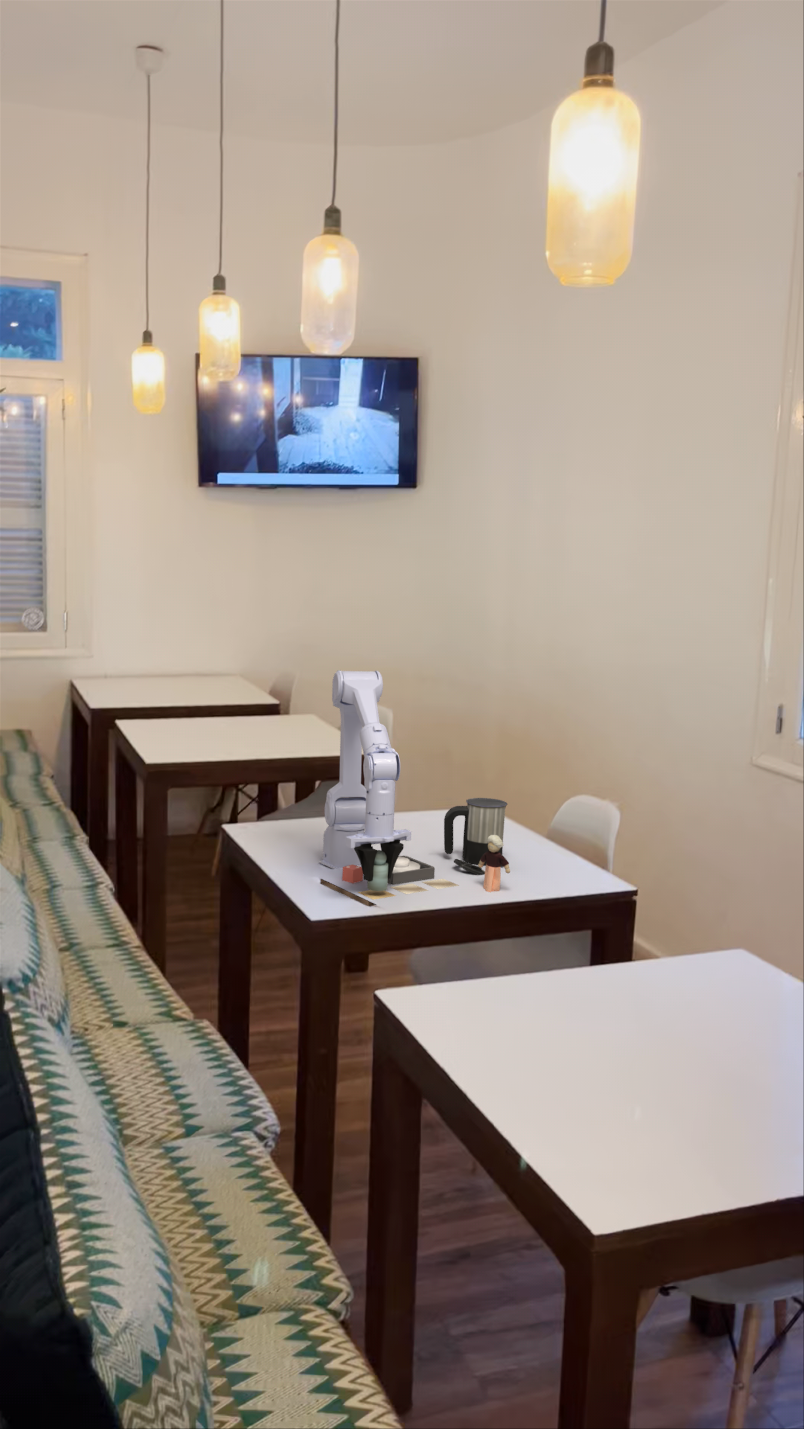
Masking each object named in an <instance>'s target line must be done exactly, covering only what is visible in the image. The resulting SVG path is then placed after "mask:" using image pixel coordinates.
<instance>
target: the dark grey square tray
mask: <svg viewBox="0 0 804 1429" xmlns="http://www.w3.org/2000/svg"><path fill="white" fill-rule="evenodd" d="M399 857H404V858H408V859H409V861H413V862H416V863H418V864H419V865H420V869H417V870H410V871H403V872H396V873H392V876H391V878H390V879H388V883H387V885H388V884H389V885H392V886H397V885H403V884H410V883H414V882H419V881H421V882H423V881H429V880H435V871H436V870H435V866H433V865H430V864H427V863H426V862H424V861H420V860H417V859H415V858H414V857H413V858H412V857H410V856H408V855H399Z"/></svg>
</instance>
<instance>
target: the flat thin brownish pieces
mask: <svg viewBox="0 0 804 1429" xmlns="http://www.w3.org/2000/svg"><path fill="white" fill-rule="evenodd" d="M421 883H422V884H423V885H427V886H429V887H432V888H434V889H437V890H440V889H445V888H446V889H447V888H454V887H458V886H460V884H457V883H454V882H452V881H449V880H447V879H445V878H439V879H430V880H424V881H421ZM320 884H321V885H323V886H325V887H327V888H329V889H331V890H333V891H335V892H336V893H339V894H341V895H344V896H345V897H347V898H350V899H352V900H354V901H356V902H358V903H360V904H363V905H364V906H367V907H372V906H377V904H376V903H375V902H373V901H370V900H367V899H365V898H363V897H362V896H364V897H366V898H368V899H371V900H379V899H385V898H393V897H396V896H397V895H396V894H393V893H391V892H389V891H387V890H384V891H372V890H369V889H368V890H364V891H363V890H362V891H358V892H357V893H358V894H360V895H362V896H359V895H357V894H355V893H353V892H351V891H349V890H346V889H345V888H342V887H341V886H338V885H337V884H336V885H335V884H333V883H331V882H329V881H327V880H325V879H323V878H320ZM390 889H393V890H395V891H398V892H400V893H402V894H405V895H408V894H409V895H410V894H416V893H423V892H427V891H429V889H426V888H425V887H421V886H419V885H417V884H415V883H405V884H399V885H392V886H390Z"/></svg>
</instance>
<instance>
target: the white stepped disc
mask: <svg viewBox="0 0 804 1429" xmlns="http://www.w3.org/2000/svg"><path fill="white" fill-rule="evenodd" d="M417 869H420V865H419V864H418V863H416V862H413V861H409V859H408V858H404V857H398V859H397V861H396V863H395V866H394V869H393V872H392V873H396V872H403V871H410V870H417Z"/></svg>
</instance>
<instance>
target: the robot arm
mask: <svg viewBox="0 0 804 1429" xmlns="http://www.w3.org/2000/svg"><path fill="white" fill-rule="evenodd" d="M333 674H334V675H333V678H332V687H331V688H332V690H331V692H332V693H331V696H332V697H331V700H332V706H333V707H336V708H337V709H339V713H340V733H339V734H340V735H339V736H340V739H339V740H340V741H339V742H340V744H339V745H340V746H339V747H340V748H339V782H337V784H335V785H334V786H333V787H330V788H329V789H328V790H327V793H326V798H325V799H326V800H325V804H324V819H325V822H326V825H328V826H327V827H326V829H325V831H324V833H323V839H322V840H323V841H322V859H321V860H319V864H322V865H323V866H326V867H327V868H330V869H333V870H335V869H343V867H345V866H349V865H356V866H360V867H362V871H363V880H365V881H367V882H368V881H369V882H370V881H372V880H373V870H374V861H375V857H376V854H377V850H378V849H376V848H374V847H373V846H372V845H378V844H379V845H380V850H381V851H383V852H384V853H385V854H386V863H388V879H390V878H391V876H392V872H393V869H394V866H395V863H396V861H397V859H398V857H399V856H401V853H402V852H403V850H404V847H405V846H404V845H405V844H403V843H402V842H401V841H406V842H409V841H412V831H411V830H409V829H406V828H405V829H394V827H395V807H396V806H395V805H396V804H395V803H396V784H397V783H396V782H397V781H399V779H400V776H401V760H400V756H399V753H398V752H397V751H396V750H395V748H392V745H391V742H390V741H391V740H390V736H389V733H388V730H387V729H388V728H387V727H386V726H385V725H384V724H383V723H380V714H379V708H378V703H379V702H380V699H381V697H382V695H383V689H384V681H383V680H384V679H383V675H382V673H381V672H380V671H379V670H372V671H370V670H368V671H365V670H362V671H361V670H356V671H355V670H341V669H340V670H336V671H335V673H333ZM362 752H363V757H364V759H363V765H362ZM362 766H363V778H364V785H363V784H362Z"/></svg>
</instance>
